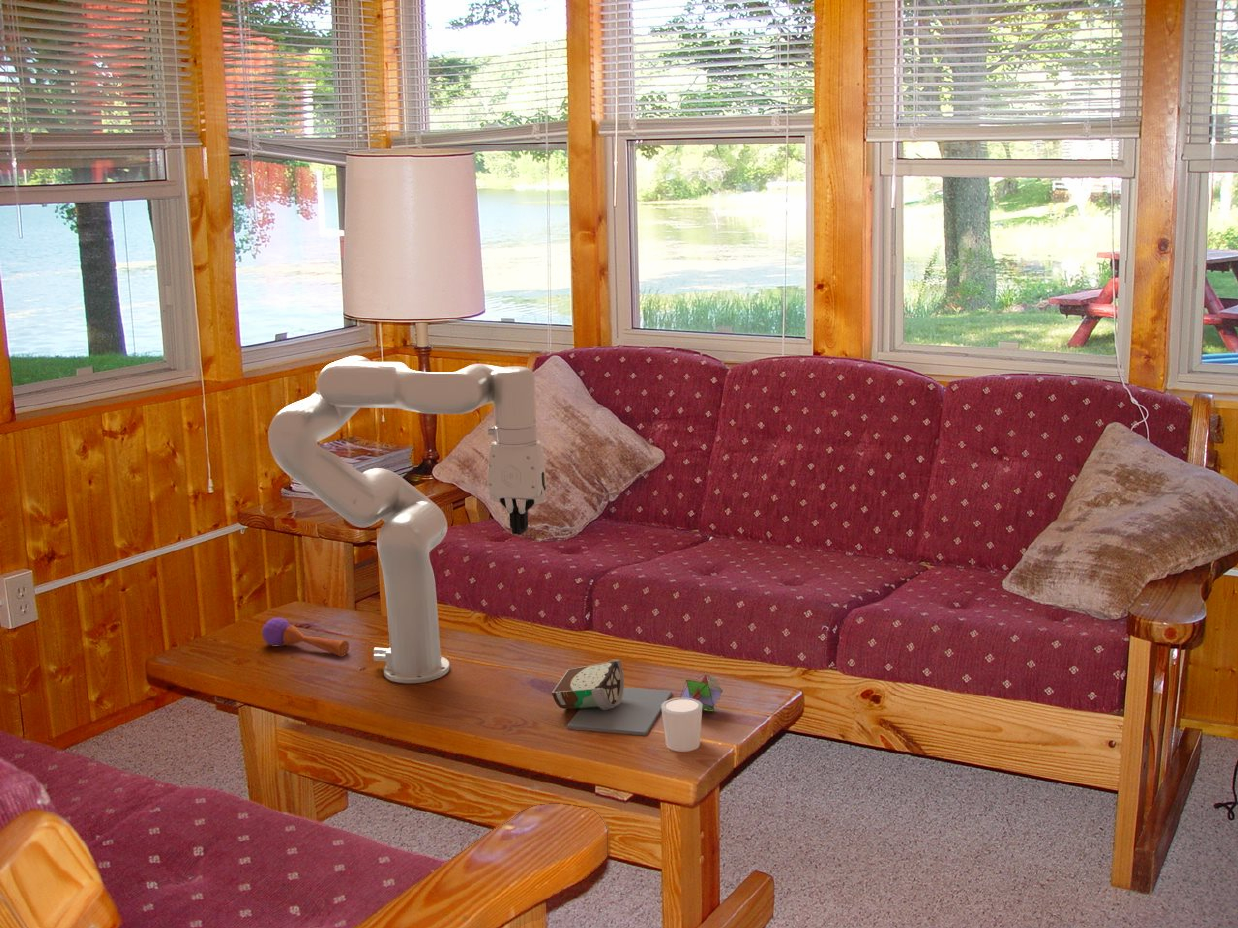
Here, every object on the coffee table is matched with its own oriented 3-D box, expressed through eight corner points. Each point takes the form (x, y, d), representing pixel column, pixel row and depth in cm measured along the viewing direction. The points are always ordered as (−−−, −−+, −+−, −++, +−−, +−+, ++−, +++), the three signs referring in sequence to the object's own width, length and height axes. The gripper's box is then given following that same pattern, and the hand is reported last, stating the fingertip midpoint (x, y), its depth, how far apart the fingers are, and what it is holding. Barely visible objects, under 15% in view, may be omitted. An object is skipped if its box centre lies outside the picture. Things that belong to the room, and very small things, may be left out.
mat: (567, 728, 228) (566, 725, 228) (598, 688, 245) (598, 685, 245) (645, 735, 224) (645, 732, 224) (671, 693, 241) (671, 690, 241)
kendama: (332, 643, 263) (254, 624, 271) (336, 669, 265) (259, 648, 274) (350, 628, 267) (273, 609, 276) (354, 653, 270) (278, 634, 279)
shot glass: (668, 733, 224) (666, 695, 223) (708, 737, 222) (706, 698, 221) (657, 751, 218) (656, 711, 216) (698, 755, 216) (697, 715, 214)
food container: (558, 728, 232) (611, 721, 229) (549, 696, 231) (602, 689, 227) (579, 695, 243) (630, 689, 240) (570, 665, 242) (621, 658, 239)
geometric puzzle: (705, 715, 226) (716, 670, 228) (669, 709, 229) (680, 664, 232) (720, 726, 232) (730, 682, 234) (684, 719, 235) (695, 676, 237)
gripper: (469, 437, 239) (473, 535, 244) (546, 441, 235) (550, 541, 239) (485, 429, 246) (489, 524, 251) (561, 433, 242) (564, 529, 246)
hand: (519, 532), depth 245 cm, fingers closed
